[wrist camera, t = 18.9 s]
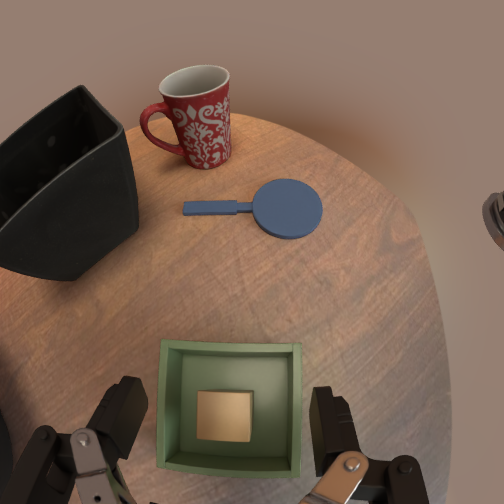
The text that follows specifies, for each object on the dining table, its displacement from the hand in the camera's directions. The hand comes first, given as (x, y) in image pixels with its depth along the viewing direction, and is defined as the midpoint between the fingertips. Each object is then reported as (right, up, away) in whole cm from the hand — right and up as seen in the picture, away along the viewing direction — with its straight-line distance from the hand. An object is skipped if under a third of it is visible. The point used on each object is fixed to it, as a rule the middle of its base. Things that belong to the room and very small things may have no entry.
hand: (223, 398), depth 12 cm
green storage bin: (-1, -9, +14) cm, 17 cm away
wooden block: (-1, -9, +14) cm, 17 cm away
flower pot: (-22, +10, +25) cm, 35 cm away
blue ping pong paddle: (+1, +12, +25) cm, 28 cm away
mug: (-7, +21, +30) cm, 37 cm away
